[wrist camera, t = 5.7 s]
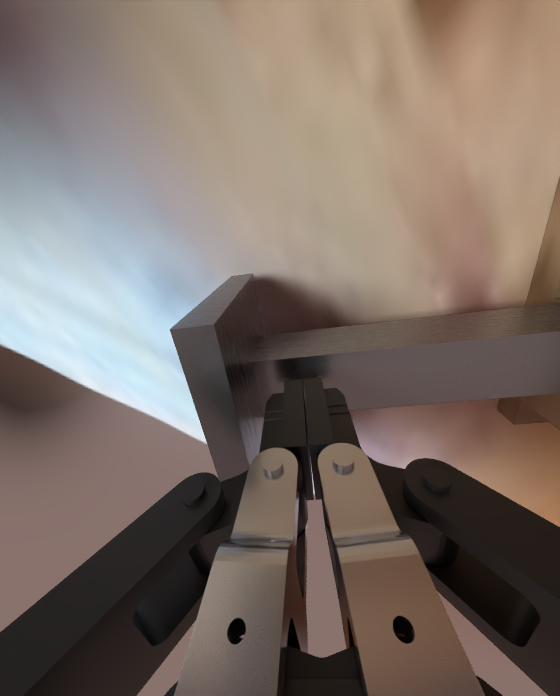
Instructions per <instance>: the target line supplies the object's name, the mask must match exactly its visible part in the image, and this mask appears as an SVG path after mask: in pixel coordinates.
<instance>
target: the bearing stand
mask: <svg viewBox="0 0 560 696" xmlns="http://www.w3.org/2000/svg"><path fill="white" fill-rule="evenodd" d="M553 303H560V179H559V182H558V186H557V190H556V193H555V197H554V201H553V205H552V208H551V212H550V216H549V220H548V223H547V227H546V231H545V234H544V238H543V242H542V246H541V249H540V253H539V257H538V260H537V264H536V268H535V272H534V275H533V279H532V283H531V286H530V290H529V294H528V298H527V301H526V305H525V307H526V306H535V305H544V304H553ZM497 410H498V411H499V412H500V413H502V414H503V415H504V416H505V417H506V418H507V419H508V420H509V421H511V422H512V423H513V424H527V423H541V422H550V423H551V424H553V425H554V426H555V427H557V428H558V429H559V430H560V393H557V394H544V395H532V396H520V397H508V398H500V402H499V405H498V409H497Z"/></svg>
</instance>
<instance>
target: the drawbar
mask: <svg viewBox="0 0 560 696" xmlns="http://www.w3.org/2000/svg"><path fill="white" fill-rule="evenodd" d="M170 332H171V335H172V338H173V341H174V344H175V347H176V350H177V353H178V356H179V359H180V362H181V365H182V368H183V371H184V374H185V377H186V380H187V383H188V386H189V389H190V393H191V396H192V399H193V402H194V405H195V408H196V411H197V414H198V417H199V420H200V423H201V426H202V429H203V432H204V435H205V438H206V441H207V444H208V447H209V450H210V453H211V456H212V459H213V462H214V466H215V469H216V471H217V475H218V478H219V481H220V482H221V481H224V480H227V479H230V478H232V477H235V476H238V475H240V474H242V473H244V472H245V471H247V470H248V469H249V467H250V464H251V462H252V460H253V459H254V458H255V457H256V456H257V455H258V454H259V451H260V444H261V437H262V430H263V422H264V415H265V408H266V402H267V401H268V399H269V398H270V397H271V395H272V394H276V393H284V380H292V379H302V381H303V389H304V378H312V377H322V382H323V387H324V389H328V388H337V389H338V390H339V391H340V392H341V393H343V394H344V396H345V399H346V403H347V406H348V409H349V410H360V409H372V408H385V407H397V406H409V405H422V404H434V403H446V402H458V401H471V400H483V399H495V398H508V397H520V396H532V395H544V394H557V393H560V303H553V304H544V305H535V306H526V307H517V308H508V309H498V310H489V311H480V312H471V313H462V314H453V315H443V316H434V317H425V318H416V319H407V320H398V321H388V322H379V323H370V324H361V325H352V326H343V327H333V328H324V329H315V330H306V331H297V332H288V333H278V334H269V335H264V334H263V328H262V322H261V316H260V310H259V304H258V299H257V293H256V287H255V281H254V275H253V274H246V275H239V276H231V277H230V278H229V279H228V280H227V281H226V282H224V283H223V284H222V285H221V286H220V287H219V288H217V289H216V290H215V291H214V292H213V293H212V294H210V295H209V296H208V297H207V298H206V299H205V300H203V301H202V302H201V303H200V304H199V305H198V306H197V307H195V308H194V309H193V310H192V311H191V312H190V313H188V314H187V315H186V316H185V317H184V318H183V319H181V320H180V321H179V322H178V323H177V324H176V325H174V326H173V327H172V328H171V329H170ZM304 397H305V391H304ZM305 405H306V403H305Z"/></svg>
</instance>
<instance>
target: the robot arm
mask: <svg viewBox="0 0 560 696" xmlns="http://www.w3.org/2000/svg"><path fill="white" fill-rule="evenodd" d="M304 391H305V397H304ZM305 403H306V405H305ZM310 458H311V460H310ZM311 466H312V472H311ZM312 474H313V481H314V489H315V497H316V500H317V499H322V505H323V514H324V522H325V530H326V535H327V540H328V546H329V552H330V557H331V562H332V568H333V573H334V578H335V584H336V589H337V594H338V600H339V606H340V611H341V619H342V625H343V631H344V638H345V643H346V649H345V650H343V651H340V652H338V653H336V654H333V655H331V656H328V657H325V658H319V657H315V656H313V655H310V654H308V634H307V633H308V632H307V613H306V582H307V581H306V580H307V579H306V578H307V520H308V509H307V500H313V499H314V496H313V484H312ZM437 591H438V592H439V593H440V594H441V595H442V596H443V597H444V598H445V599H447V600H448V601H449V602H450V603H451V604H452V605H453V606H454V607H455V608H456V609H457V610H458V611H459V612H460V613H461V614H462V615H463V616H464V617H466V618H467V619H468V620H469V621H470V622H471V623H472V624H473V625H474V626H475V627H476V628H477V629H478V630H479V631H480V632H481V633H483V634H484V635H485V636H486V637H487V638H488V639H489V640H490V641H491V642H492V643H493V644H494V645H495V646H496V647H498V648H499V649H500V650H501V651H502V652H503V653H504V654H505V655H506V656H507V657H508V658H509V659H510V660H511V661H512V662H513V663H514V664H515V665H517V666H518V667H519V668H520V669H521V670H522V671H523V672H524V673H525V674H526V675H527V676H528V677H529V678H530V679H531V680H532V681H534V682H535V683H536V684H537V685H538V686H539V687H540V688H541V689H542V690H543V691H544V692H545V693H546V694H547V695H548V696H560V527H558V526H556V525H555V524H553V523H551V522H549V521H548V520H546V519H544V518H542V517H540V516H539V515H537V514H535V513H533V512H532V511H530V510H528V509H526V508H525V507H523V506H521V505H519V504H518V503H516V502H514V501H512V500H510V499H509V498H507V497H505V496H503V495H502V494H500V493H498V492H496V491H495V490H493V489H491V488H489V487H488V486H486V485H484V484H482V483H480V482H479V481H477V480H475V479H473V478H472V477H470V476H468V475H466V474H465V473H463V472H461V471H459V470H458V469H456V468H454V467H452V466H450V465H449V464H447V463H444V462H442V461H439V460H435V459H429V458H423V459H417V460H414V461H412V462H411V463H409V464H408V465H407V467H406V469H402V468H397V467H392V466H387V465H384V464H381V463H378V462H376V461H374V460H373V459H371V458H370V457H368V456H367V455H366V454H365V453H364V452H363V450H362V449H361V447H360V444H359V441H358V438H357V435H356V431H355V428H354V425H353V422H352V419H351V415H350V413H349V409H348V406H347V403H346V399H345V396H344V394H343V393H341V392H340V391H339V390H338V389H337V388H328V389H324V387H323V382H322V377H312V378H304V389H303V381H302V379H292V380H284V393H276V394H272V395H271V397H270V398H269V399H268V401H267V402H266V408H265V415H264V422H263V430H262V437H261V444H260V451H259V454H258V455H257V456H256V457H255V458H254V459H253V460H252V462H251V464H250V467H249V469H248V470H247V471H245V472H244V473H242V474H240V475H238V476H235V477H232V478H230V479H227V480H224V481H221V482H220V481H219V479H218V478H217V477H216V476H215V475H213V474H211V473H198V474H194V475H192V476H189V477H188V478H186V479H185V480H183V481H182V482H181V483H179V484H178V485H177V486H176V487H175V488H173V489H172V490H171V491H170V492H168V493H167V494H166V495H165V496H164V497H162V498H161V499H160V500H159V501H158V502H156V503H155V504H154V505H153V506H152V507H150V508H149V509H148V510H147V511H146V512H144V513H143V514H142V515H141V516H140V517H138V518H137V519H136V520H135V521H134V522H132V523H131V524H130V525H129V526H128V527H126V528H125V529H124V530H123V531H122V532H120V533H119V534H118V535H117V536H116V537H114V538H113V539H112V540H111V541H110V542H108V543H107V544H106V545H105V546H104V547H102V548H101V549H100V550H99V551H98V552H96V553H95V554H94V555H93V556H91V557H90V558H89V559H88V560H87V561H86V562H84V563H83V564H82V565H81V566H79V567H78V568H77V569H76V570H75V571H74V572H72V573H71V574H70V575H69V576H67V577H66V578H65V579H64V580H63V581H62V582H60V583H59V584H58V585H57V586H55V587H54V588H53V589H52V590H51V591H49V592H48V593H47V594H46V595H45V596H43V597H42V598H41V599H40V600H39V601H37V602H36V603H35V604H34V605H33V606H32V607H30V608H29V609H28V610H27V611H25V612H24V613H23V614H22V615H21V616H19V617H18V618H17V619H16V620H15V621H13V622H12V623H11V624H10V625H9V626H7V627H6V628H5V629H4V630H3V631H1V632H0V696H137V694H138V693H139V692H140V690H141V689H142V688H143V686H144V685H145V684H146V683H147V682H148V680H149V679H150V678H151V677H152V675H153V674H154V673H155V671H156V670H157V669H158V668H159V666H160V665H161V664H162V662H163V661H164V660H165V659H166V657H167V656H168V655H169V653H170V652H171V651H172V650H173V648H174V647H175V646H176V645H177V643H178V642H179V641H180V640H181V638H182V637H183V636H184V635H185V633H186V632H187V631H188V629H189V628H190V627H191V626H192V624H193V623H194V622H195V620H196V623H195V626H194V629H193V633H192V636H191V639H190V643H189V646H188V650H187V653H186V656H185V660H184V663H183V667H182V670H181V673H180V677H179V680H178V682H177V683H176V684H174V685H173V687H172V688H170V689H169V691H168V692H167V693H166V694H165V695H164V696H502V695H501V694H500V693H499V692H498V691H496V690H495V689H494V688H492V687H491V686H490V685H489V684H487V683H486V682H485V681H484V680H482V679H481V678H479V677H478V676H476V675H475V673H474V671H473V668H472V666H471V664H470V662H469V659H468V657H467V655H466V653H465V651H464V649H463V646H462V644H461V642H460V640H459V638H458V636H457V633H456V631H455V629H454V627H453V625H452V623H451V620H450V618H449V616H448V614H447V612H446V610H445V607H444V605H443V603H442V601H441V599H440V597H439V594H438V592H437Z"/></svg>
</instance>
